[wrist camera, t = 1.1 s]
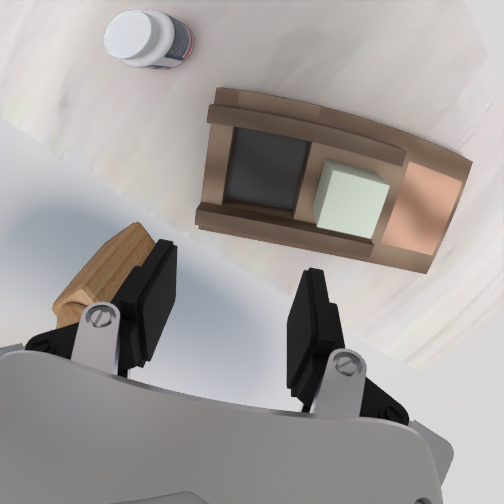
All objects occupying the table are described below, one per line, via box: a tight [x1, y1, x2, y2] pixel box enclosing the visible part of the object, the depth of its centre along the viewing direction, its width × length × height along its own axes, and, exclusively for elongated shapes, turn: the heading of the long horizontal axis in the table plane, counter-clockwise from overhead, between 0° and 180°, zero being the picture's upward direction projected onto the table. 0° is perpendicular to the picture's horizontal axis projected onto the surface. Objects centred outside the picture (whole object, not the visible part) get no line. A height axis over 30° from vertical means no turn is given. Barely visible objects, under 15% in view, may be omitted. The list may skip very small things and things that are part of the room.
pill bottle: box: [104, 9, 194, 69], centre depth 19 cm, size 5×5×9 cm
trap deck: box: [195, 88, 473, 274], centre depth 27 cm, size 14×26×4 cm, turn 80°
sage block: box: [312, 158, 390, 239], centre depth 25 cm, size 5×5×4 cm
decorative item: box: [52, 222, 156, 329], centre depth 27 cm, size 7×7×20 cm
